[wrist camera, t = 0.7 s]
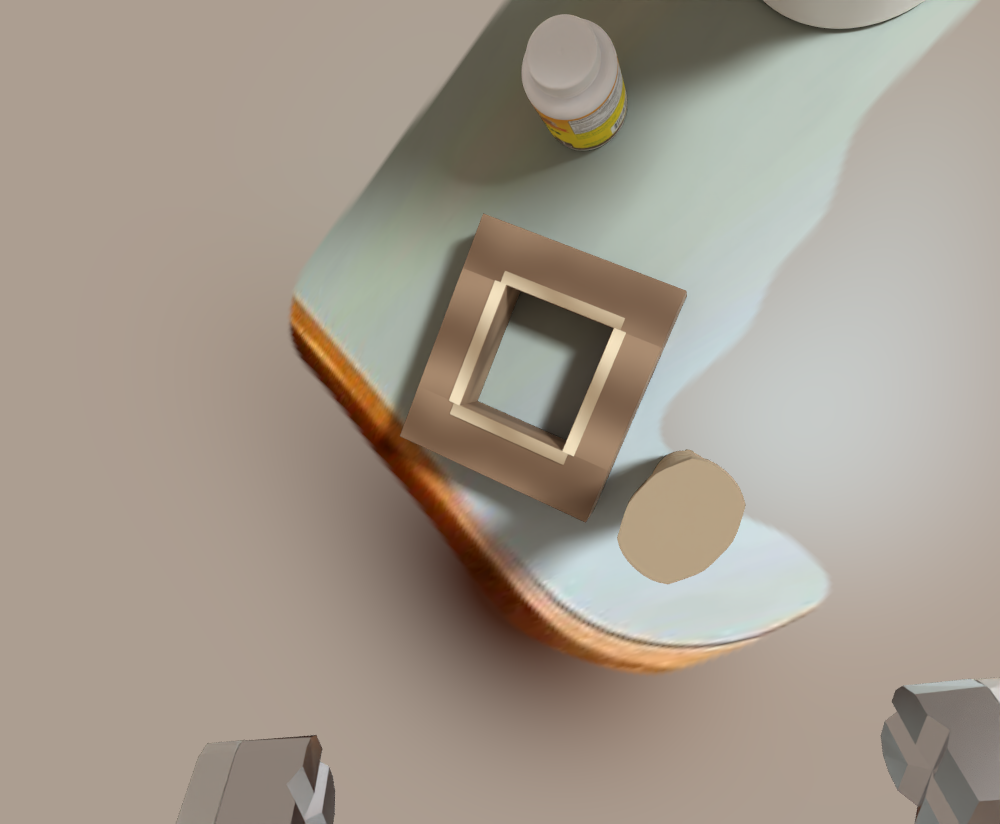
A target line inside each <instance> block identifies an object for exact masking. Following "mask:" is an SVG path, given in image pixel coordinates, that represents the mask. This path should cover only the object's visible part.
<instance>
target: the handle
mask: <svg viewBox="0 0 1000 824" xmlns="http://www.w3.org/2000/svg"><path fill="white" fill-rule="evenodd" d="M744 509H745V501H744V498H743V495H742V493H741V490H740V488H739V486H738V485H737V483H736V482H735V480H734V479H733V478H732V477H731V476H730V475H729V474H728V473H727V472H726V471H725V470H724V469H722V468H721V467H719V466H718V465H717V464H715V463H713V462H711V461H710V460H708V459H704V458H702V457H701V456H699V455H697V454H696V453H694V452H693V451H691V450H685V451H676V452H673V453H670V454H668V455H666V456H665V457H664V458H663V459H662V460H661V461H660V462H659V463H658V464H657V466H656V467H655V469H654V471H653V473H652V475H651V476H650V477H649V478H648V479H647V480H646V481H645V482H644V483H643V484H642V485H641V486H640V488H639V489H638V490H637V491H636V492H635V493H634V494H633V496H632V497H631V499H630V500H629V502H628V505H627V508H626V510H625V513H624V516H623V519H622V523H621V526H620V530H619V533H618V537H617V539H618V543H619V546H620V549H621V551H622V553H623V555H624V556H625V558H626V559H627V561H628V562H629V563H630V564H631V565H632V566H633V567H634V568H635V569H636V570H637V571H639V572H640V573H641V574H643V575H644V576H646V577H647V578H649V579H651V580H653V581H656V582H659V583H664V584H671V583H674V582H677V581H680V580H683V579H686V578H688V577H691V576H694V575H696V574H698V573H700V572H702V571H704V570H705V569H706V568H708V567H709V566H710V565H711V564H712V563H713V562H714V561H715V560H716V559H717V558H718V557H719V556H720V555H721V554H722V553H723V552H724V551H725V550H726V549H727V548H728V547H729V546H730V544H731V543H732V542H733V540H734V538H735V536H736V534H737V531H738V528H739V525H740V522H741V519H742V516H743V512H744Z"/></svg>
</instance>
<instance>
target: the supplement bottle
mask: <svg viewBox="0 0 1000 824" xmlns="http://www.w3.org/2000/svg"><path fill="white" fill-rule="evenodd" d="M522 82H523V87H524V90H525V92H526V95H527V97H528V99H529V100H530V102H531V103H532V105H533V106H534V108H535V109H536V111H537V112H538V114H539V115H540V117H541V119H542V120H543V121H544V123H545V124H546V126H547V128H548V129H549V131H550V132H551V133H552V135H553V136H554V137H555V138H556V139H557V140H558V141H559V142H560V143H561V144H563V145H564V146H566V147H568V148H571V149H574V150H592V149H596V148H598V147H601V146H603V145H604V144H606V143H607V142H609V141H610V140H611V139H612V138H613V137H614V136H615V135H616V134H617V133H618V132H619V130H620V128H621V127H622V125H623V123H624V120H625V117H626V113H627V104H628V102H627V94H626V89H625V85H624V81H623V77H622V73H621V69H620V65H619V61H618V57H617V53H616V51H615V48H614V45H613V43H612V41H611V39H610V37H609V36H608V35H607V33H606V32H605V31H604V30H603V29H602V28H601V27H600V26H598V25H597V24H595V23H593V22H591V21H589V20H586V19H583V18H579V17H577V16H574V15H569V14H560V15H556V16H553V17H550V18H548V19H547V20H545V21H544V22H542V23H541V24H540V25H539V26H538V27H537V28H536V29H535V30H534V32H533V33H532V35H531V37H530V39H529V41H528V44H527V48H526V52H525V55H524V58H523V63H522Z"/></svg>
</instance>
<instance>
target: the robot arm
mask: <svg viewBox="0 0 1000 824" xmlns="http://www.w3.org/2000/svg"><path fill="white" fill-rule="evenodd" d="M763 1H764V2H765V3H766V4H767V5H769V6H770V7H771V8H773V9H774V10H776V11H777V12H779V13H780V14H782V15H784V16H786V17H788V18H790V19H792V20H795V21H797V22H800V23H803V24H807V25H811V26H815V27H821V28H832V29H844V28H856V27H862V26H868V25H872V24H876V23H879V22H882V21H885V20H888V19H891V18H893V17H896V16H898V15H900V14H902V13H904V12H906V11H908V10H910V9H912V8H914V7H915V6H917V5H919V4H920V3H922V2H923V1H925V0H763ZM892 703H893V705H894V707H895V708H896V710H897V712H896V713H895V714H893V715H892V716H891V717H889V718H888V719H887V720H886V721H885V722H884V726H883V730H882V733H881V741H882V751H883V756H884V759H885V763H886V766H887V769H888V772H889V774H890V776H891V778H892V780H893V782H894V784H895V786H896V788H897V790H898V791H899V792H900V793H901V794H903V795H904V796H905V797H907V798H908V799H909V800H910V801H912V802H913V803H914V804H915V805H917V812H916V818H915V824H1000V677H996V678H995V677H994V678H984V679H964V680H954V681H945V682H935V683H925V684H915V685H906V686H902V687H900V688H898V689H897V690H896V691H895V693H894V696H893V699H892ZM321 753H322V747H321V744H320V742H319V740H318V738H317V735H311V736H299V737H286V738H274V739H261V740H249V741H248V740H240V741H229V742H218V743H208V744H207V745H206V746H205V748H204V749H203V751H202V752H201V754H200V755H199V757H198V760H197V762H196V765H195V768H194V771H193V774H192V778H191V780H190V783H189V786H188V789H187V792H186V795H185V798H184V801H183V804H182V807H181V810H180V813H179V816H178V818H177V821H176V824H333V822H334V815H335V813H334V812H335V788H334V781H333V776H332V773H331V770H330V768H329V766H327V765H325V764H324V763H322V762H320V759H321Z"/></svg>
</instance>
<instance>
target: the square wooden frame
mask: <svg viewBox="0 0 1000 824" xmlns="http://www.w3.org/2000/svg"><path fill="white" fill-rule="evenodd" d="M520 291H521V292H524V293H526V294H529V295H531V296H534V297H536V298H539V299H541V300H544V301H546V302H549V303H551V304H554V305H556V306H559V307H561V308H564V309H566V310H569V311H571V312H574V313H576V314H579V315H581V316H584V317H586V318H589V319H591V320H594V321H596V322H599V323H601V324H604V325H606V326H609V327H611V328H613V330H612V333H611V335H610V337H609V340H608V342H607V345H606V347H605V349H604V352H603V354H602V356H601V359H600V361H599V364H598V366H597V368H596V371H595V373H594V376H593V378H592V380H591V383H590V385H589V387H588V390H587V392H586V395H585V397H584V399H583V402H582V404H581V407H580V409H579V411H578V414H577V416H576V418H575V421H574V423H573V426H572V428H571V430H570V433H569V435H568V438H567V440H565V439H562V438H560V437H558V436H555V435H553V434H551V433H549V432H546V431H544V430H542V429H540V428H537V427H535V426H533V425H531V424H528V423H526V422H524V421H522V420H519V419H517V418H515V417H512V416H510V415H508V414H506V413H503V412H501V411H499V410H497V409H494V408H492V407H490V406H488V405H485V404H483V403H481V402H479V401H478V399H479V396H480V394H481V391H482V388H483V386H484V383H485V381H486V378H487V376H488V373H489V371H490V368H491V365H492V363H493V360H494V358H495V355H496V353H497V350H498V348H499V345H500V342H501V340H502V337H503V335H504V332H505V330H506V327H507V325H508V322H509V319H510V317H511V314H512V312H513V309H514V307H515V304H516V302H517V299H518V297H519V294H520ZM686 297H687V292H686V291H685V290H683V289H680V288H677V287H675V286H672V285H670V284H667V283H664V282H662V281H659V280H656V279H654V278H651V277H649V276H646V275H643V274H641V273H638V272H635V271H633V270H630V269H628V268H625V267H622V266H620V265H617V264H614V263H612V262H609V261H607V260H604V259H601V258H599V257H596V256H593V255H591V254H588V253H586V252H583V251H580V250H578V249H575V248H572V247H570V246H567V245H565V244H562V243H559V242H557V241H554V240H551V239H549V238H546V237H544V236H541V235H538V234H536V233H533V232H530V231H528V230H525V229H523V228H520V227H517V226H515V225H512V224H509V223H507V222H504V221H502V220H499V219H496V218H494V217H491V216H488V215H486V214H483V215H482V218H481V221H480V223H479V226H478V229H477V231H476V234H475V237H474V239H473V242H472V245H471V247H470V250H469V253H468V255H467V258H466V261H465V263H464V266H463V269H462V271H461V274H460V277H459V279H458V282H457V285H456V287H455V290H454V293H453V295H452V298H451V301H450V303H449V306H448V309H447V311H446V314H445V317H444V319H443V322H442V325H441V327H440V330H439V333H438V335H437V338H436V341H435V343H434V346H433V349H432V351H431V354H430V357H429V359H428V362H427V365H426V367H425V370H424V373H423V375H422V378H421V381H420V383H419V386H418V389H417V391H416V394H415V397H414V399H413V402H412V405H411V407H410V410H409V413H408V415H407V418H406V421H405V423H404V426H403V429H402V431H401V434H400V436H401V437H403V438H405V439H407V440H409V441H411V442H413V443H416V444H418V445H420V446H422V447H424V448H426V449H429V450H431V451H433V452H435V453H437V454H439V455H441V456H444V457H446V458H448V459H450V460H452V461H454V462H457V463H459V464H461V465H463V466H465V467H467V468H469V469H472V470H474V471H476V472H478V473H480V474H482V475H484V476H487V477H489V478H491V479H493V480H495V481H497V482H500V483H502V484H504V485H506V486H508V487H510V488H512V489H515V490H517V491H519V492H521V493H523V494H525V495H528V496H530V497H532V498H534V499H536V500H538V501H540V502H543V503H545V504H547V505H549V506H551V507H553V508H556V509H558V510H560V511H562V512H564V513H566V514H568V515H571V516H573V517H575V518H577V519H579V520H581V521H583V522H587V520H588V518H589V517H590V515H591V514H592V512H593V510H594V508H595V506H596V504H597V501H598V499H599V497H600V494H601V492H602V490H603V488H604V485H605V483H606V481H607V478H608V476H609V474H610V471H611V469H612V467H613V465H614V462H615V460H616V458H617V455H618V453H619V451H620V448H621V446H622V444H623V442H624V439H625V437H626V435H627V432H628V430H629V428H630V425H631V423H632V421H633V419H634V416H635V414H636V412H637V409H638V407H639V405H640V402H641V400H642V398H643V396H644V393H645V391H646V389H647V386H648V384H649V382H650V379H651V377H652V375H653V373H654V370H655V368H656V366H657V363H658V361H659V359H660V356H661V354H662V352H663V349H664V347H665V345H666V343H667V340H668V338H669V336H670V333H671V331H672V329H673V326H674V324H675V322H676V320H677V317H678V315H679V313H680V310H681V308H682V306H683V303H684V301H685V299H686Z"/></svg>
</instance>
